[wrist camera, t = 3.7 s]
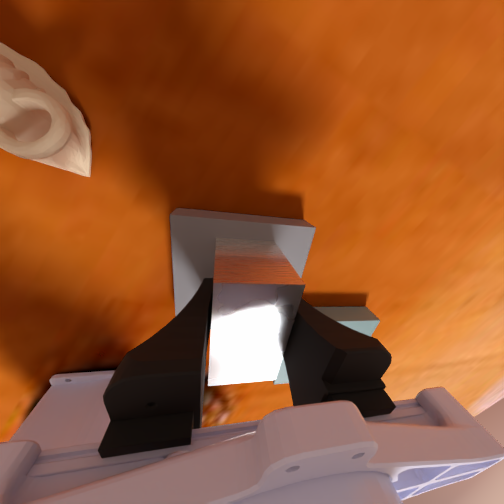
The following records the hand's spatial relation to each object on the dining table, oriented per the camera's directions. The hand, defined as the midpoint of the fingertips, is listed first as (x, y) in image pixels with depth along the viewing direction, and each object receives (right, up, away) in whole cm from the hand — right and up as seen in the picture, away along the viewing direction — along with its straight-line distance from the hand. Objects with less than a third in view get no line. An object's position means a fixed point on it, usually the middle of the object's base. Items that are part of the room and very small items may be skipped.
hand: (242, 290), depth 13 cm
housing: (0, 0, +1) cm, 1 cm away
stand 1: (0, +1, +3) cm, 3 cm away
